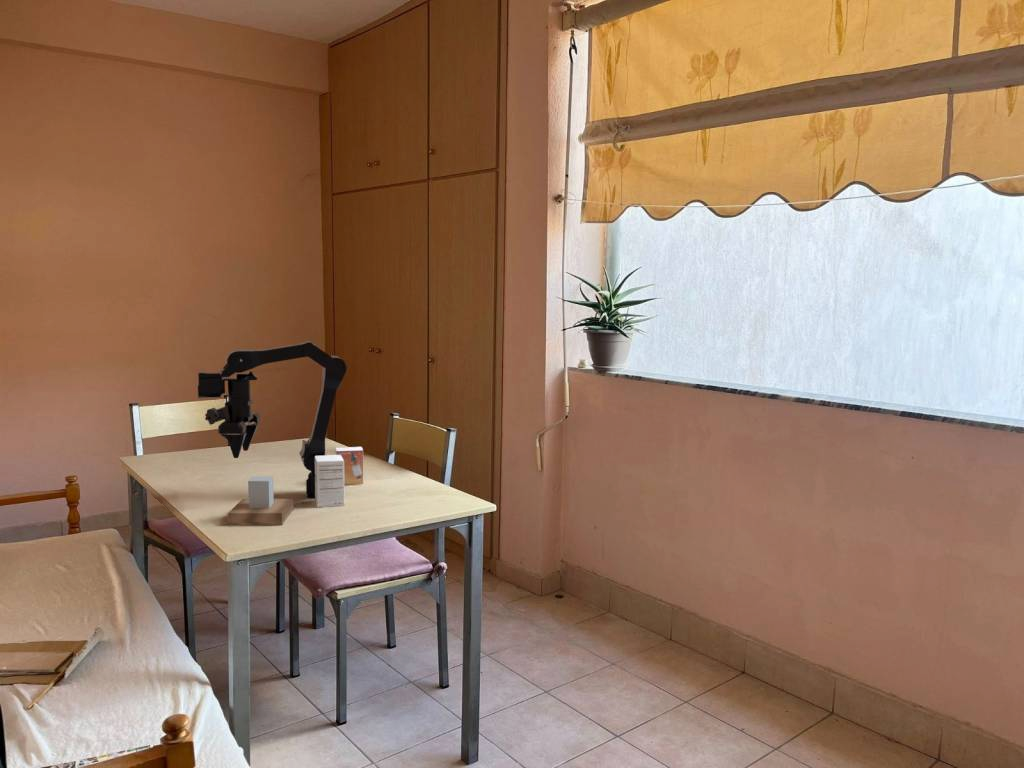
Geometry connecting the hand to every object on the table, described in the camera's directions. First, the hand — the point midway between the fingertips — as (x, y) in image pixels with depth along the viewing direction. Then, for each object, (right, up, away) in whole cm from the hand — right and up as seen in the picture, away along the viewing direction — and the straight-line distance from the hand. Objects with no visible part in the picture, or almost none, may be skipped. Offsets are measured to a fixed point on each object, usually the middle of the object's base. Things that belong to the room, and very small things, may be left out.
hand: (240, 454), depth 212 cm
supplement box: (+24, -14, +1) cm, 27 cm away
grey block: (+10, -12, -13) cm, 20 cm away
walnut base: (+10, -15, -13) cm, 22 cm away
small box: (+24, -11, +23) cm, 35 cm away
